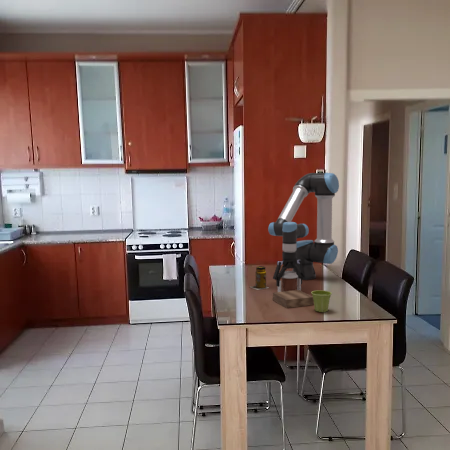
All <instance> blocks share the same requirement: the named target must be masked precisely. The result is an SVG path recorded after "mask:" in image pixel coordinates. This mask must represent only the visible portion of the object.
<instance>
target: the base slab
mask: <svg viewBox="0 0 450 450" xmlns="http://www.w3.org/2000/svg"><path fill="white" fill-rule="evenodd" d="M272 301H273V302H276V303H277V304H278V305H280V306H282V307H283V308H285V309H291V308H298V307H307V306H314V300H313V296H312V294H308V293H307V292H304V291H302V290H301V291H300V290H297V289H296V290H292V291H283V290H282V291H281V292H278V291H276V292H272Z"/></svg>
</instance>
